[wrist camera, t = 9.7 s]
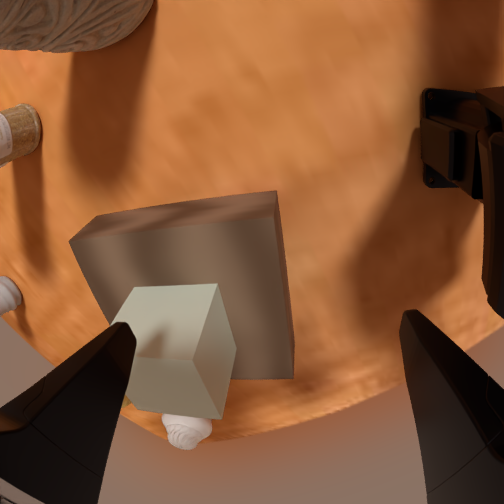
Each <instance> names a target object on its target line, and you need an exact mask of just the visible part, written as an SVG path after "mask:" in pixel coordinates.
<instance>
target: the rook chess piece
mask: <svg viewBox="0 0 504 504" xmlns="http://www.w3.org/2000/svg"><path fill="white" fill-rule="evenodd" d="M21 299H22V295H21V292H20V290H19V288H18V287H17V285H16V284H15V283H14V281H12V280H11V279H10V278H8V277H6V276H1V277H0V317H1V316H2V315H3V314H4V313H6V312H9V311H10V310H15V309H16V308H17V305H20V304H21Z"/></svg>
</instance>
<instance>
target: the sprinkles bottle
mask: <svg viewBox="0 0 504 504" xmlns="http://www.w3.org/2000/svg"><path fill="white" fill-rule="evenodd" d="M40 132H41V124H40V119H39V117H38V114H37V112H36V110H35V109H34V108H33V107H32V106H31V105H29V104H18V105H17V106H15V107H13V108H9V109H6V110H3V111H0V168H1V167H3V166H5V165H6V164H7V163H8V162H10V161H12V160H14V159H16V158H18V157H21V156H23V155H28V154H29V153H31V152H33V151H34V149H35V148H36V147H37V146H38V143H39V140H40Z"/></svg>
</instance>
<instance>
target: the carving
mask: <svg viewBox="0 0 504 504" xmlns="http://www.w3.org/2000/svg"><path fill="white" fill-rule="evenodd" d="M153 1H154V0H0V49H3V50H29V51H37V50H42V51H43V52H52V53H66V52H79V51H89V50H97V49H101V48H103V47H107V46H109V45H112V44H114V43H116V42H118V41H119V40H121V39H123V38H125V37H126V36H128V35H129V34H130V33H132V32H133V31H134V30H135V29H136V28H137V26H138V25H139V24H140V23H141V22H142V21H143V19H144V18H145V16H146V15H147V13H148V12H149V10H150V8H151V6H152V4H153Z"/></svg>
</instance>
